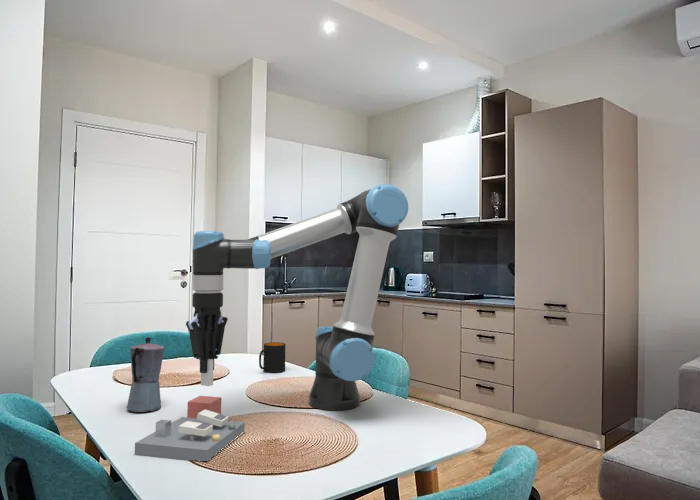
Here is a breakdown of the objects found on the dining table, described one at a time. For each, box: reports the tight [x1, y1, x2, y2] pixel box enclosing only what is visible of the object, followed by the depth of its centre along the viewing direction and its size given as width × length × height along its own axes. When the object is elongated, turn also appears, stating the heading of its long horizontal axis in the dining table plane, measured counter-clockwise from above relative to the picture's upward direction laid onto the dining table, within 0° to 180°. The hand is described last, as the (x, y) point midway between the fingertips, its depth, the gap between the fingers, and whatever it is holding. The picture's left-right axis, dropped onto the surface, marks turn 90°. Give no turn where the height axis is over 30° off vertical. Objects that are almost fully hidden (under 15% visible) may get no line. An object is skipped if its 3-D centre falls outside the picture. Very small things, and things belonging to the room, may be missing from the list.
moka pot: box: [126, 337, 165, 413], centre depth 144 cm, size 10×15×20 cm, turn 2°
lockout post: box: [154, 419, 172, 437], centre depth 116 cm, size 2×2×3 cm
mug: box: [258, 342, 286, 374], centre depth 195 cm, size 8×12×10 cm
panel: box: [134, 416, 246, 462], centre depth 118 cm, size 17×19×4 cm
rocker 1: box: [178, 421, 213, 437], centre depth 114 cm, size 6×4×2 cm, turn 78°
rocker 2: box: [197, 409, 229, 427], centre depth 122 cm, size 6×4×2 cm, turn 78°
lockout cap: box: [186, 395, 222, 418], centre depth 136 cm, size 6×6×5 cm
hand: (206, 385), depth 130 cm, fingers closed
